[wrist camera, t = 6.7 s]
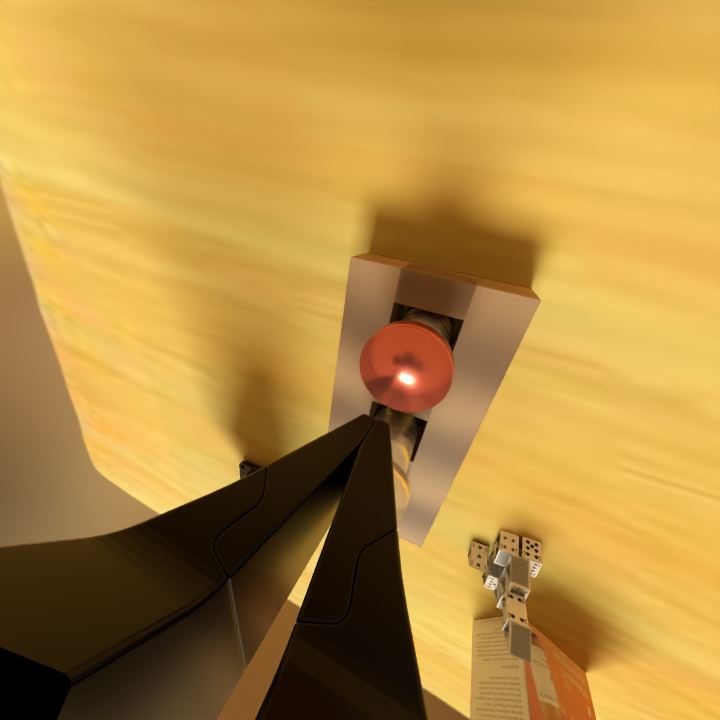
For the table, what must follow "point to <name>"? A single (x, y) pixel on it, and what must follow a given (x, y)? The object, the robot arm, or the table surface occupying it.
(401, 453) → the cream plug
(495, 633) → the small box
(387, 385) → the red plug
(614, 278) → the table surface
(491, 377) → the socket board
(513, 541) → the house of cards
